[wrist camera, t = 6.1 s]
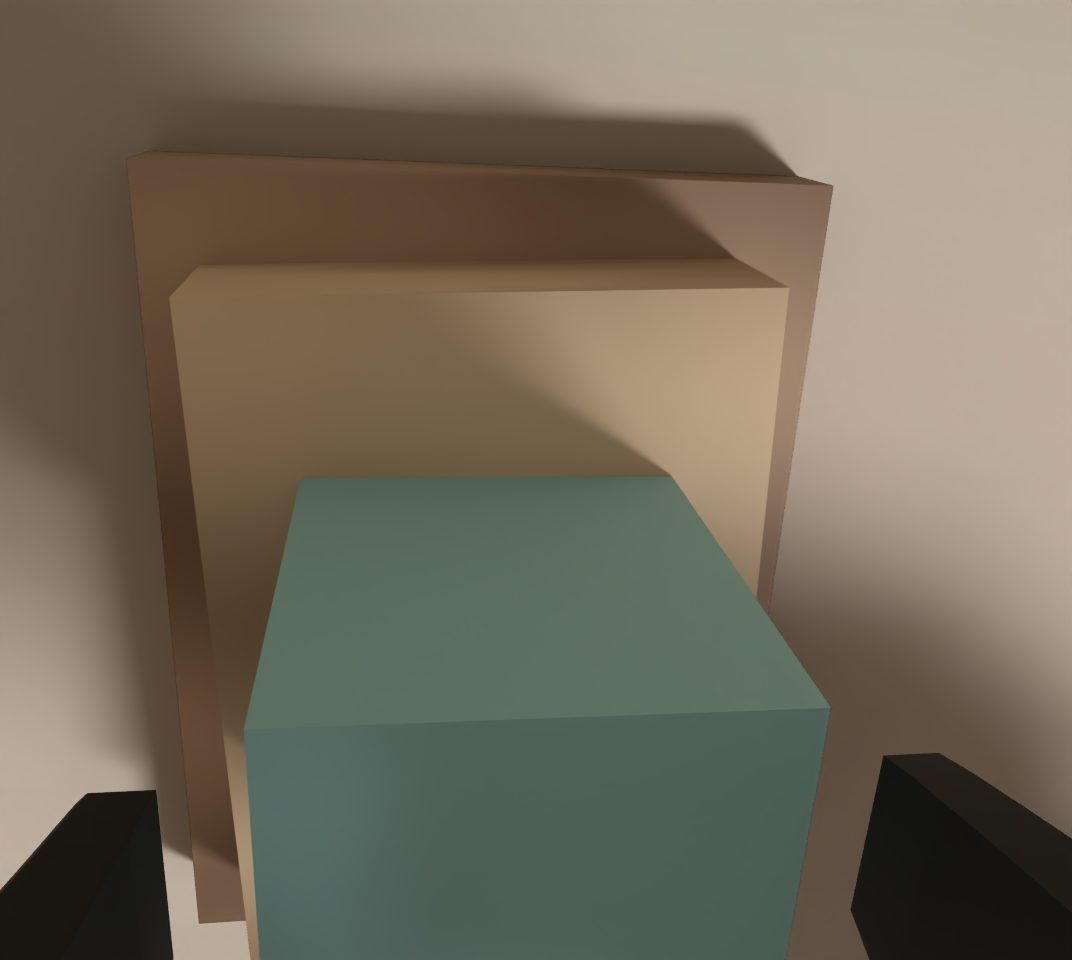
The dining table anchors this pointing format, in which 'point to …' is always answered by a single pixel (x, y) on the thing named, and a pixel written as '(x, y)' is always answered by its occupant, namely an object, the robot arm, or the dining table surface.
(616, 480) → the teal block
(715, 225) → the bottom slab
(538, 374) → the top slab
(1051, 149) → the dining table surface
